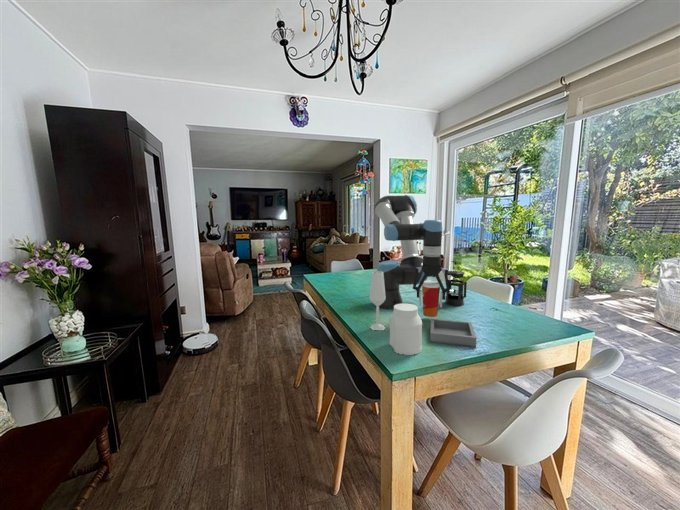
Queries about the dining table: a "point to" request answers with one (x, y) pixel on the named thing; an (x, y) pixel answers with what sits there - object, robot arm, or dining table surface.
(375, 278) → the champagne flute
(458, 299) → the french press
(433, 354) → the dining table surface
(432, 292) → the coffee cup
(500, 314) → the dining table surface
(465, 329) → the bin
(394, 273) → the robot arm
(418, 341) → the jar
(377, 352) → the dining table surface
